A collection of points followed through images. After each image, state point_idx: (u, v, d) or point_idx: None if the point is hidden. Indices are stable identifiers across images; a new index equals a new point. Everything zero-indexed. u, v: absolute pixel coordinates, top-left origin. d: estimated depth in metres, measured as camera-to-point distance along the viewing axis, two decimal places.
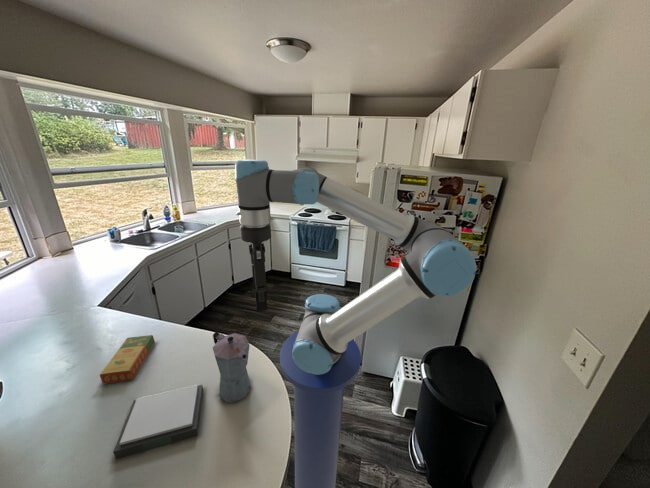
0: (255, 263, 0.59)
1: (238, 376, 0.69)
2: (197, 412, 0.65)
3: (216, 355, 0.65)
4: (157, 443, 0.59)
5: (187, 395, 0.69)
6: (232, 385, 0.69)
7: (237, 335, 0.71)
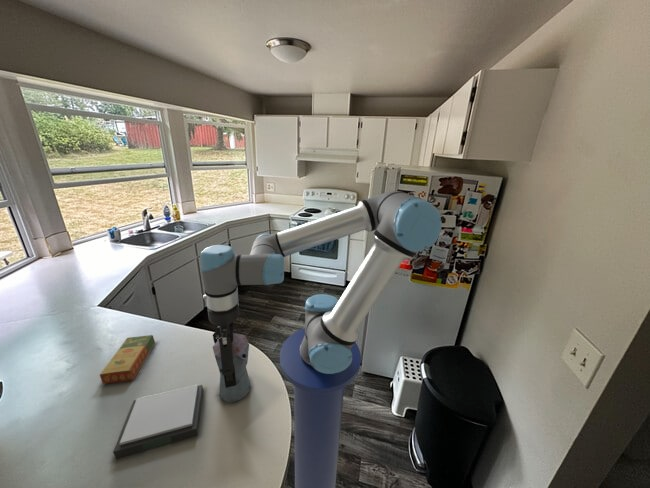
0: (221, 349, 0.61)
1: (238, 376, 0.69)
2: (197, 412, 0.65)
3: (216, 354, 0.65)
4: (157, 443, 0.59)
5: (187, 395, 0.69)
6: None
7: (237, 335, 0.71)
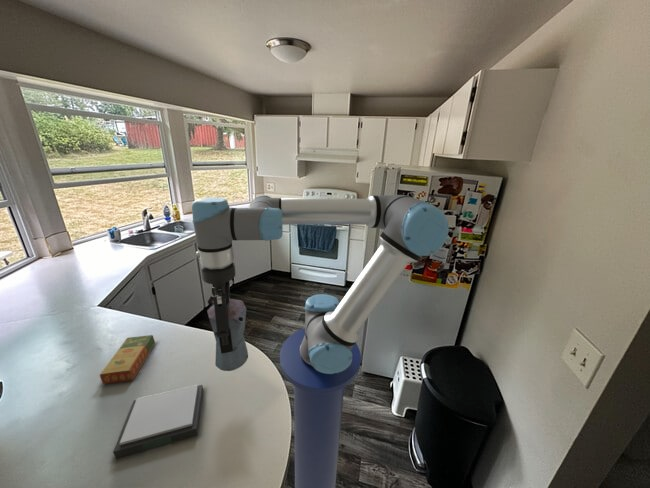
0: (215, 308, 0.56)
1: (235, 342, 0.65)
2: (197, 412, 0.65)
3: (210, 317, 0.61)
4: (157, 443, 0.59)
5: (187, 395, 0.69)
6: (229, 352, 0.65)
7: (233, 300, 0.67)
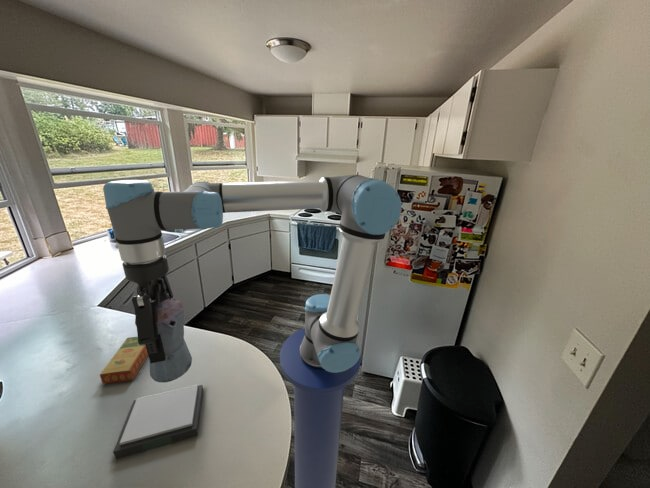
0: (136, 311, 0.48)
1: (170, 349, 0.56)
2: (197, 412, 0.65)
3: None
4: (157, 443, 0.59)
5: (187, 395, 0.69)
6: None
7: (171, 300, 0.58)
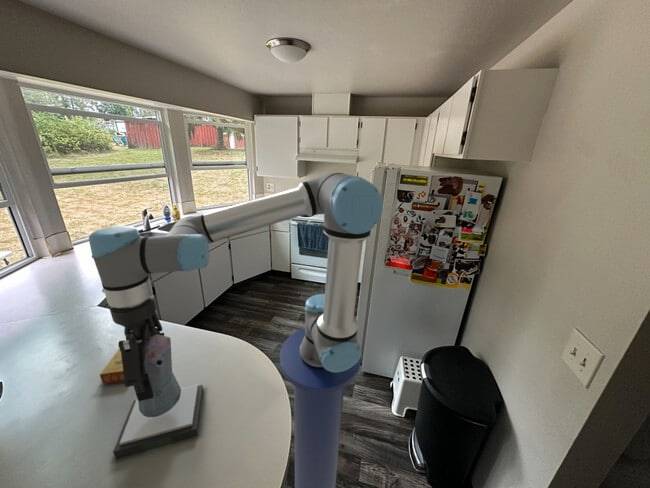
0: (122, 354, 0.49)
1: (158, 386, 0.57)
2: (197, 412, 0.65)
3: None
4: (157, 443, 0.59)
5: (187, 395, 0.69)
6: None
7: (159, 336, 0.59)
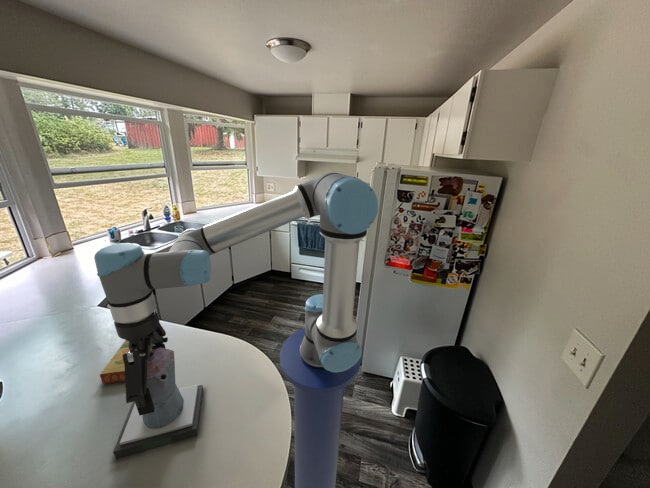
0: (126, 367, 0.50)
1: (162, 398, 0.59)
2: (197, 412, 0.65)
3: None
4: (157, 443, 0.59)
5: (187, 395, 0.69)
6: None
7: (163, 350, 0.61)
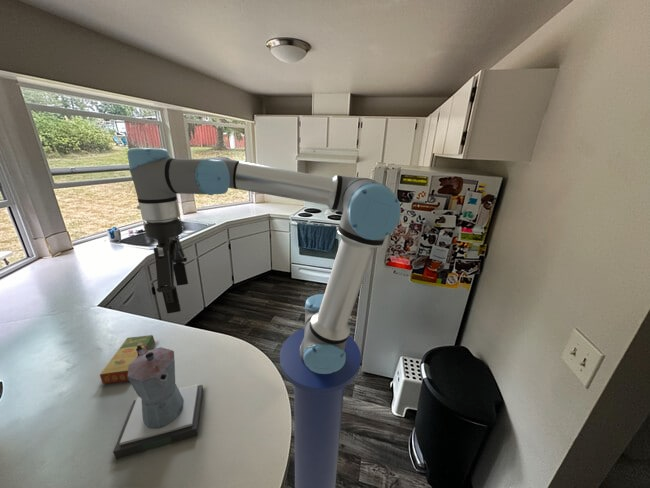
0: (156, 260, 0.54)
1: (162, 398, 0.59)
2: (197, 412, 0.65)
3: (129, 375, 0.54)
4: (157, 443, 0.59)
5: (187, 395, 0.69)
6: (154, 409, 0.59)
7: (163, 350, 0.61)
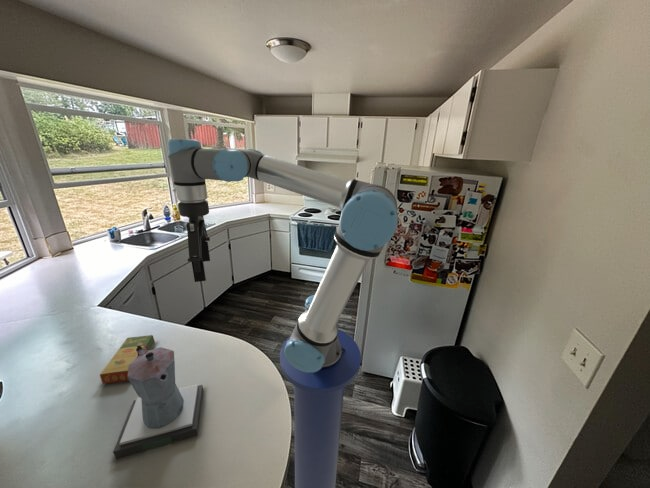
0: (188, 234, 0.64)
1: (162, 398, 0.59)
2: (197, 412, 0.65)
3: (129, 375, 0.54)
4: (157, 443, 0.59)
5: (187, 395, 0.69)
6: (154, 409, 0.59)
7: (163, 350, 0.61)
